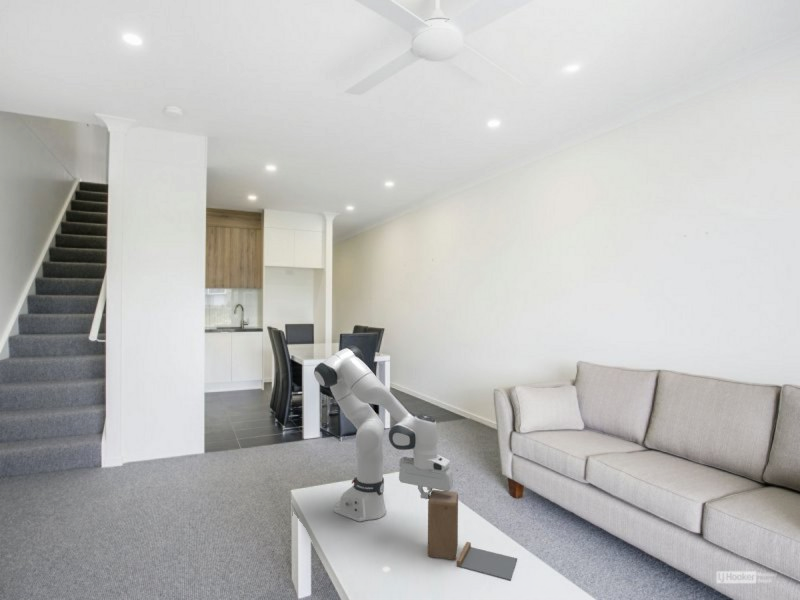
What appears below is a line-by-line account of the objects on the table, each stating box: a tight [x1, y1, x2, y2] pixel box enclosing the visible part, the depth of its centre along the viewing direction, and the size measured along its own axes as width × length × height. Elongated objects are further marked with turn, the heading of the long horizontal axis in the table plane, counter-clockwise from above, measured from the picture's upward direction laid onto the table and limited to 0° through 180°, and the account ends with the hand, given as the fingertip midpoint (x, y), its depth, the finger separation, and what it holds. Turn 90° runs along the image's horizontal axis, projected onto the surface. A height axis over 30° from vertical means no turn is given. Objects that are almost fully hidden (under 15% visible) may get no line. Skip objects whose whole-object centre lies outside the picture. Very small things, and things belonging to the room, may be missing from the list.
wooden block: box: [427, 489, 459, 560], centre depth 154 cm, size 10×10×20 cm
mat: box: [455, 541, 518, 581], centre depth 147 cm, size 18×13×2 cm
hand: (425, 498), depth 157 cm, fingers closed
